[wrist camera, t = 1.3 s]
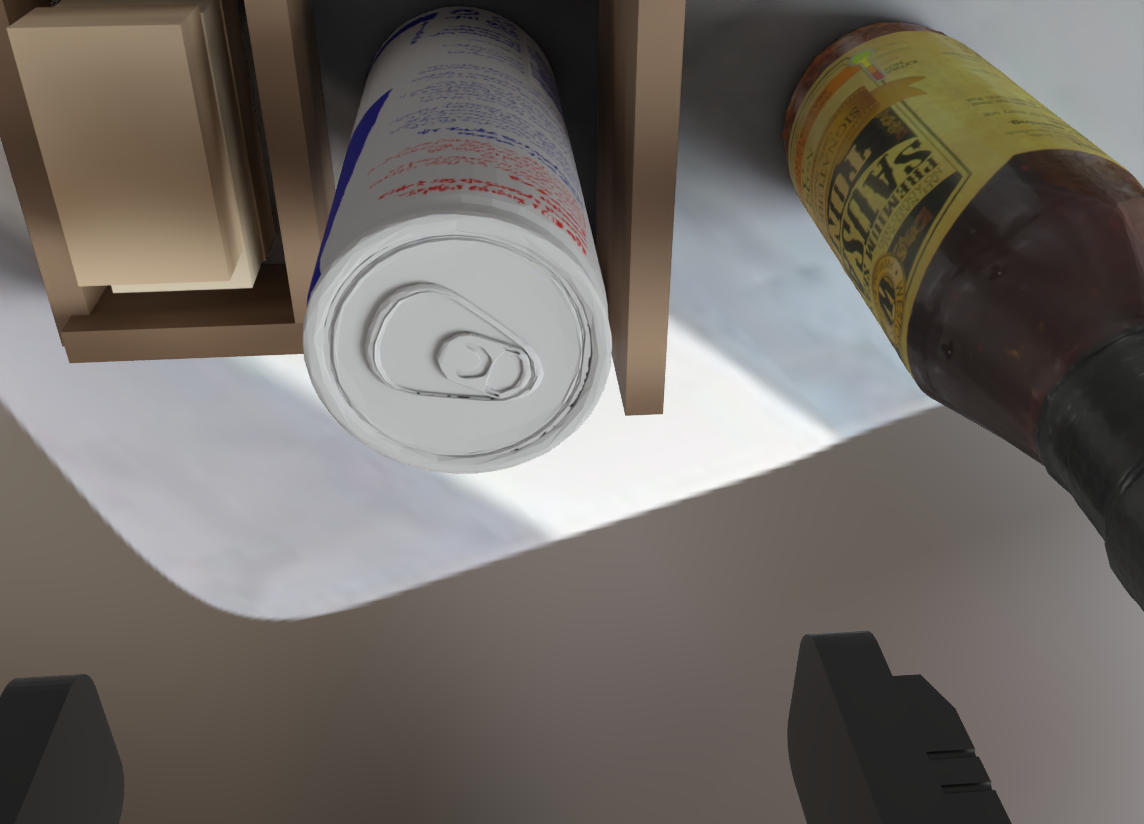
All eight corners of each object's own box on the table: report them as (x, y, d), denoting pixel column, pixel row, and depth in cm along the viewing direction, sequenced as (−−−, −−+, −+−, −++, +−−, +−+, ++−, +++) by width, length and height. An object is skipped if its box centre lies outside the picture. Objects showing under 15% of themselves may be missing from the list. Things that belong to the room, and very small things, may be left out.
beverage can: (339, 27, 30) (248, 251, 18) (534, -19, 30) (581, 175, 17) (397, 209, 33) (355, 511, 21) (574, 169, 33) (639, 449, 21)
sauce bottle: (775, 24, 31) (1125, 381, 15) (987, 2, 31) (1575, 332, 15) (769, 233, 35) (1046, 711, 18) (960, 213, 35) (1407, 669, 18)
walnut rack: (-22, -121, 28) (-180, -66, 21) (638, -127, 29) (690, -78, 22) (92, 299, 34) (1, 443, 27) (625, 280, 35) (662, 413, 29)
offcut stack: (79, -39, 29) (-3, 14, 24) (231, -42, 29) (182, 10, 24) (144, 237, 33) (87, 331, 28) (275, 233, 34) (242, 325, 28)
